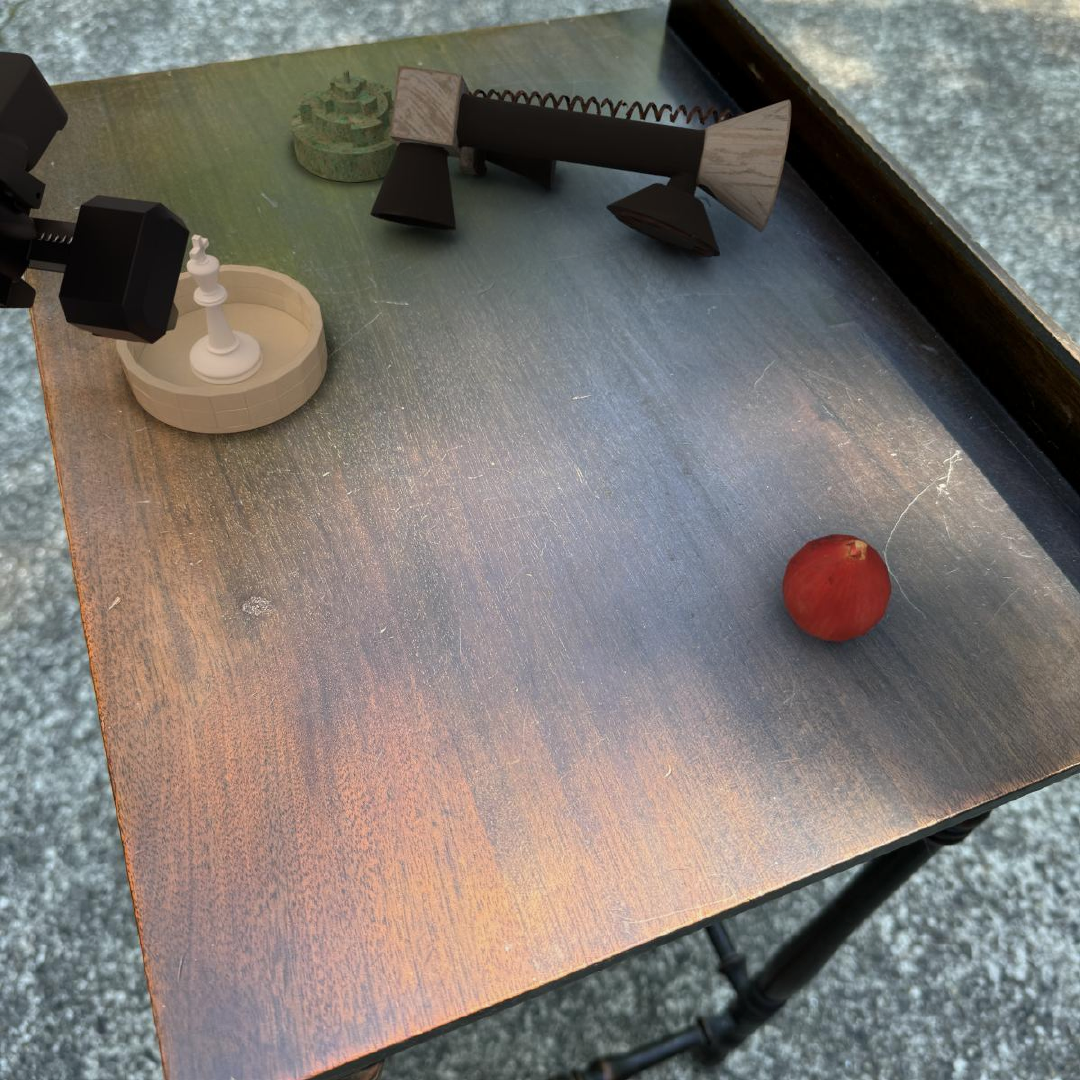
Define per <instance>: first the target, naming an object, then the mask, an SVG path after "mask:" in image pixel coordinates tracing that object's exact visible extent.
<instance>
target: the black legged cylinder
mask: <svg viewBox="0 0 1080 1080" xmlns="http://www.w3.org/2000/svg"><path fill="white" fill-rule="evenodd" d="M395 84H396V85H395V93H394V100H393V101H394V108H393V116H392V124H391V133H390V137H391V138H392V139H394V141H395V142H396V145H397V149H396V152H395V155H394V157H393V160H392V162H391V164H390V167H389V169H388V172H387V174H386V176H385V177H384V179H383V181H382V184H381V186H380V188H379V191H378V194H377V195H376V199H375V200H374V203H373V205H372V208H371V211H370V216H372V217H374V218H376V219H380V220H383V221H386V222H391V223H395V224H400V225H403V226H410V227H416V228H422V229H427V230H429V229H430V230H437V231H456V230H457V223H456V214H455V208H454V199H453V193H452V192H453V191H452V183H451V175H450V169H449V162H448V161H449V160H448V157H449V158H456V159H458V168H459V169H460V171H461V172H462V173H463V174H466V175H467V174H468V175H473V176H474V175H475V176H477V175H478V177H485V176H486V175H487V174H488V167H487V164H486V162H488V163H491V164H493V165H494V166H497V167H500V168H502V169H505V170H507V171H509V172H511V173H514V174H516V175H518V176H521V177H523V178H524V179H527V180H529V181H532V182H534V183H537V184H539V185H541V186H544V187H547V188H548V189H551V190H552V188H553V184H554V179H555V174H556V169H557V168H556V167H557V163H558V162H564V163H569V164H577V165H583V166H591V167H598V168H604V169H610V170H616V171H624V172H628V173H636V174H642V175H649V176H655V177H656V176H657V177H663V178H669V180H668V182H667V183H666V184H664V183H660V182H654V183H652V184H650V185H647V186H646V187H643V188H642V189H639V190H636V191H635V192H632V193H631V194H629V195H625V197H622V198H620V199H618V200H616V201H614V202H612V203H610V204H608V205H606V209H607V210H608V212H610V213H611V214H612V215H614V217H615V218H616V219H617V220H618V221H619V222H620V223H622V224H623V225H625V226H626V227H628V228H630V229H631V230H634V231H635V232H638V233H639V234H641V235H643V236H646V237H648V238H650V239H653V240H654V241H657V242H658V243H661V244H663V245H666V246H668V247H671V248H674V249H676V250H680V251H682V252H684V253H685V252H686V253H688V254H690V255H691V254H692V255H694V256H699V257H703V258H713V257H720V256H721V251H720V249H719V246H718V242H717V239H716V236H715V234H714V233H715V232H714V230H713V227H712V224H711V221H710V219H709V216H708V213H707V210H706V207H705V205H704V202H703V201H701V199H700V198H697V197H696V191H697V189H698V188H699V189H700V190H701V191H703V192H704V193H706V194H707V195H708V196H710V197H711V198H712V199H714V200H715V201H716V202H718V203H719V204H721V205H722V206H723V207H725V208H726V209H727V210H728V211H730V212H732V214H734V215H735V216H736V217H738V218H740V219H741V220H742V221H744V222H745V223H747V224H748V225H749V226H751V227H752V228H753V229H755V230H756V231H758V232H759V233H763V231H764V230H765V228H766V227H767V225H768V222H769V220H770V217H771V214H772V211H773V208H774V204H775V202H776V198H777V194H778V191H779V186H780V182H781V178H782V174H783V169H784V165H785V160H786V154H787V149H788V144H789V143H788V142H789V136H790V129H791V122H792V121H791V119H792V103H791V100H790V99H786V100H782V101H779V102H776V103H774V104H770V105H767V106H765V107H762V108H759V109H756V110H753V111H750V112H748V113H747V112H746V111H740V112H739V113H737V115H736V116H735V117H734V114H733V112H732V111H731V110H730V109H728V108H727V109H724V110H723V111H722V112H721V113H720V115H719V114H718V111H717V109H716V108H715V107H714V106H713V107H710V108H709V109H708V110H707V111H706V112H705V115H704V114H703V110H702V107H701V106H699V105H696V106H693V108H692V109H691V110H690V112H689V113H688V111H687V110H688V109H687V108H686V105H684V104H680V105H679V106H678V107H677V108H676V109H675V111H674V113H673V107H672V105H671V104H668V103H663V104H662V105H661V106H660V108H659V110H658V106H657V105H656V103H655V102H654V101H650V102H648V103H647V105H646V107H645V109H644V107H643V106H642V103H641V102H640V101H637V100H635V101H634V102H633V103H632V104H631V105H630V107H629V106H628V104H627V102H626V101H625V100H623V99H621V100H619V101H617V104H616V105H615V106H614V103H613V101H612V99H610V98H609V97H606V98H604V99H603V100H601V104H600V102H599V101H598V99H597V97H596V96H593V95H591V96H590V97H589V98H588V99H587V100H586V102H585V100H584V98H583V97H582V96H580V95H577V94H576V95H575V96H574V97H573V98H572V99H571V98H570V97H569V96H568V95H565V94H562V95H560V96H559V97H558V100H557V98H556V96H555V94H554V93H552V92H548V93H546V94H545V95H544V96H543V97H542V96H541V95H540V93H539V92H538V91H537V90H534V91H532V92H530V96H529V95H528V94H527V92H526V91H524V90H522V89H521V90H520V89H519V90H518V91H517V92H516V93H515V94H514V93H513V92H512V91H511V90H510V89H504V90H503V92H502V94H501V93H500V91H496V90H495V89H494V88H491V89H489V90H488V92H487V93H486V92H485V91H484V90H482V89H480V88H477V89H475V90H474V91H473V93H472V91H470V90H469V87H468V84H467V83H466V81H465V79H464V77H463V75H462V74H460V73H454V72H446V71H439V70H434V69H433V70H432V69H426V68H420V67H413V66H408V65H398V67H397V75H396V83H395ZM479 94H481V95H482V96H478V95H479ZM493 95H495V96H496V97H497V99H496V98H492V96H493ZM507 95H508V96H509V97H510V100H511V101H509V100H505V99H506V96H507ZM521 96H522V97H523V99H524V102H525V103H523V102H518V101H519V99H520V98H521ZM535 97H536V98H537V101H538V103H539V105H537V104H532V101H533V98H535ZM549 99H551V103H552V106H553V107H549V106H546V104H547V102H548V100H549ZM564 99H565V103H566V108H567V109H562V108H559V106H561V104H562V102H563V100H564ZM577 102H579V103H580V107H581V111H576V110H574V109H575V106H576V103H577ZM591 103H593V104H594V105H595V108H596V113H589V112H588V111H589V108H590V106H591ZM606 105H608V107H609V113H610V115H603V114H602V109H603V108H604V107H605V106H606ZM621 106H622V107H626V108H627V109H628V110H627V111H626V113H625V116H626V117H625V118H623V117H618V116H617V114H618V113H619V112H618V111H619V110H620V108H621ZM636 107H637V109H638V114H639V120H637V119H631V118H632V115H633V113H634V110H635V109H636ZM651 109H652V111H653V114H654V119H655V122H649V121H646V120H647V116H648V113H649V112H650V110H651ZM665 110H668V111H669V112H670V113H669V123H672V124H675V122H676V120H677V118H678V116H679V114H680V112H681V111H682V113H683V116H684V117H686V125H689V124H690V122H691V121H692V118H693V116H694V115H695V114H696V112H697V115H698V120H699V124H701V125H702V126H705V124H706V120H708V118H710V116H711V115H713V120H714V124H712V125H709V126H707V128H703V129H698V128H697V129H696V128H690V127H682V126H677V125H669V124H664V123H663V124H662V123H659V122H661V120H662V117H663V114H664V111H665ZM616 116H617V117H616ZM726 116H728V119H726V120H724V119H725V117H726Z"/></svg>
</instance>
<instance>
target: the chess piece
mask: <svg viewBox="0 0 1080 1080" xmlns="http://www.w3.org/2000/svg"><path fill="white" fill-rule="evenodd" d="M190 240H191V243H192V248H191V250H190V251H189V253H188V255H189V260H188V261H187V263H186V269H187V271H188V272H189V273H190V275H191V276H192V277H193V278H194V280H195V281H196V283H197V285H198V286H199V287H198V288H197V289H196V290H195V292H194V300H195V302H196V303H197V304H199V305H201V306H205V308H206V314H207V324H208V335H206V336H204V337H203V338H201V339H200V340H198V341H197V342H196V343H195V344H194V346H193V347H192V349H191V351H190V356H189V359H190V367H191V370H192V372H193V373H194V375H195V376H196V377H198V378H199V379H201V380H203V381H205V382H208V383H212V384H219V385H225V384H233V383H237V382H240V381H243V380H245V379H247V378H249V377H251V376H252V375H254V374H255V373H256V372H257V371H258V370H259V368H260V367H261V365H262V362H263V352H262V350H261V348H260V345H259V343H258V342H257V340H256V339H255V338H253V337H252V336H250V335H249V334H246V333H244V332H240V331H234V330H231V328H230V326H229V323H228V321H227V318H226V316H225V313H224V311H223V308H222V305H221V303H223V302H224V301H225V300H226V299H227V296H228V293H227V291H226V289H225V288H224V287H223V286H222V285H220V284H217V282H218V273H219V268H220V261H219V259H218V258H217V257H216V256H214V255H212V254H206V250H207V249H208V247H209V246H210V243H209V239H208V238H207V237H202V235H198V234H193V236H192V237H191V238H190Z"/></svg>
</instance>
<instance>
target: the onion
mask: <svg viewBox="0 0 1080 1080" xmlns="http://www.w3.org/2000/svg"><path fill="white" fill-rule="evenodd" d="M781 584H782V585H781V586H782V595H783V601H784V606H785V608H786V611H787V612H788V614H789V615H790V617H791V618H792V620H793V622H794V624H795V625H796V626H798V627H799V628H800V629H802V630H803V631H804V632H805V633H807V634H808V635H810V636H812V637H815V638H817V639H820V640H823V641H825V642H826V641H827V642H841V643H842V642H845V641H848V640H851V639H854V638H857V637H860V636H863V635H866V634H867V633H869V631H870V630H871V629H873V628H874V627H875V626H876V625H877V624H878V623H879V622H881V620H882V619H883V618H884V616H885V614H886V610H887V608H888V605H889V601H890V599H891V596H892V583H891V579H890V572H889V568H888V566H887V564H886V563H885V561H884V560H883V558H882V557H881V555H880V553H879V552H878V551H877V550H876V549H875V548H874V547H872V546H871V545H870V544H869V543H868V542H867V541H866V540H864V539H861V538H859V537H857V536H854V535H852V534H850V535H849V534H839V533H832V534H828V535H825V536H821V537H818V538H815V539H812V540H809V541H808V542H807V543H805V544H804V545H803V546H802V547H801V548H800V549H799V550H798V551H796V553H794V555H793V556H791V558H790V559H789V561H788V563H787V565H786V568H785V571H784V574H783V578H782V582H781Z"/></svg>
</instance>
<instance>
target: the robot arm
mask: <svg viewBox="0 0 1080 1080" xmlns="http://www.w3.org/2000/svg"><path fill="white" fill-rule="evenodd" d="M68 121H69V114H68V112H67V110H66V109H65V107H64V106H63V104H62V102H61V101H60V99H59V97H57V95H56V93H55V92H54V90H53V89H52V87H51V85H50V84H49V83H48V81H47V80H46V78H45V76H44V74H43V73H42V72H41V70H40V69H39V67H38V65H37V64H36V62H35V61H34V59H33V58H32V57H31V56H30V55H28V54H26V53H23V52H10V51H0V309H31V308H33V307H34V303H35V300H36V297H37V291H36V289H35V288H34V287H33V286H32V285H31V284H29V282H27V281H26V280H25V279H24V278H23V276H24V275H25V273H26V271H27V270H28V269H29V270H36V271H42V272H43V271H44V272H51V273H58V274H63V276H62V279H61V284H60V289H59V292H58V296H57V297H58V300H59V303H60V306H61V309H62V312H63V315H64V319H65V322H66V323H68V324H69V325H71V326H73V327H75V328H77V329H79V330H81V331H85V332H88V333H91V335H92V336H94V337H99V338H107V339H112V340H116V339H119V340H125V341H131V342H141V343H148V344H154V343H155V342H156V341H158V340H159V339H160V338H162V337H163V336H164V335H166V331H171V330H174V329H175V327H176V323H177V319H178V314H179V312H178V309H177V307H176V305H175V303H174V297H175V293H176V289H177V284H178V280H179V276H180V273H182V267H183V263H184V260H185V254H186V250H187V245H188V242H189V239H190V233H191V231H190V230H189V228H188V226H187V225H186V223H185V221H184V220H183V218H181V217H180V216H178V214H176V213H175V212H174V211H172V210H171V209H170V208H169V207H167V206H166V205H164V204H163V203H162V202H159V201H158V202H157V201H150V200H144V199H143V200H142V199H134V198H125V197H117V196H109V195H101V194H97V195H95V196H93V197H92V198H90V199H88V200H86V201H85V202H83V203H82V204H80V207H79V211H78V214H77V218H76V222H71V221H63V220H55V219H49V218H40V217H33V216H30V215H31V210H39V209H41V207H42V202H43V199H44V193H45V189H46V185H47V184H46V183H44V182H43V181H42V180H40V179H39V178H37V177H36V176H34V175H33V174H31V173H30V172H31V171H32V170H34V169H35V167H36V166H37V164H38V163H39V162H40V160H41V159H42V157H43V155H44V153H45V152H46V150H47V148H48V147H49V146H50V144H51V143H52V141H53V139H54V137H55V136H56V134H57V133H58V132H59V131H63V130H64V128H65V127H66V125H67V124H68Z"/></svg>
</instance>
